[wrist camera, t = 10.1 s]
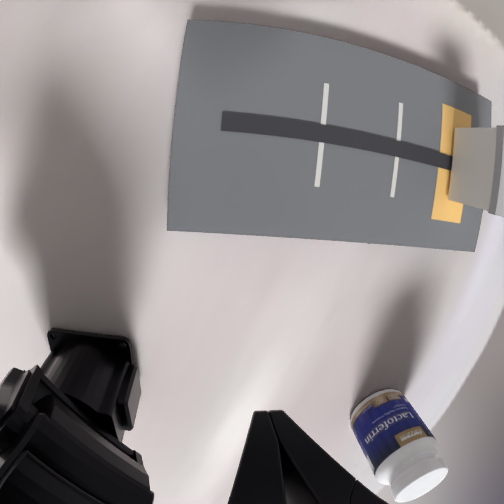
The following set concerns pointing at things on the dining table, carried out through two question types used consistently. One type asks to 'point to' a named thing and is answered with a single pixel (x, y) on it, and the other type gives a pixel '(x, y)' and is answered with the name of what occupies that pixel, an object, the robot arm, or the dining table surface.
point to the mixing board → (315, 141)
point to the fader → (478, 169)
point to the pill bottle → (397, 445)
